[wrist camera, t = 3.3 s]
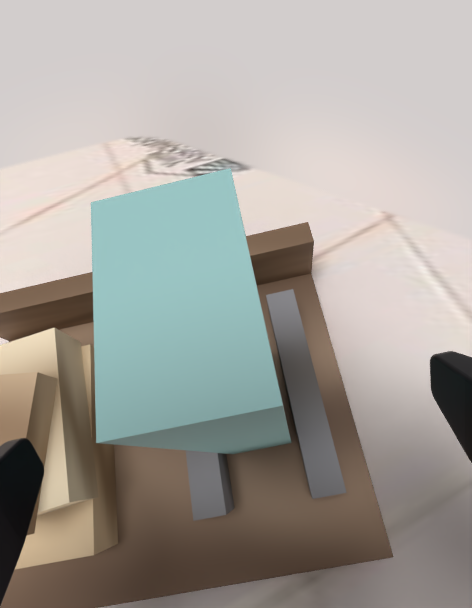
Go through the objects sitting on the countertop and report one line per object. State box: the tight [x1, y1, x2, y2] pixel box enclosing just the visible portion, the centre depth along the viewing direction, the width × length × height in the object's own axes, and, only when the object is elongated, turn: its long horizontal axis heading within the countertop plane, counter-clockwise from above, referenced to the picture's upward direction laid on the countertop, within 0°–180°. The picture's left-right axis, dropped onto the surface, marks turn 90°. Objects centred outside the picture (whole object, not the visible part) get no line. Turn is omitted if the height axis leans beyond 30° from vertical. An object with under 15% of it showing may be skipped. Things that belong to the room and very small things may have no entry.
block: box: [91, 168, 291, 454], centre depth 11 cm, size 4×2×12 cm, turn 10°
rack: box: [0, 222, 393, 608], centre depth 15 cm, size 13×16×6 cm
